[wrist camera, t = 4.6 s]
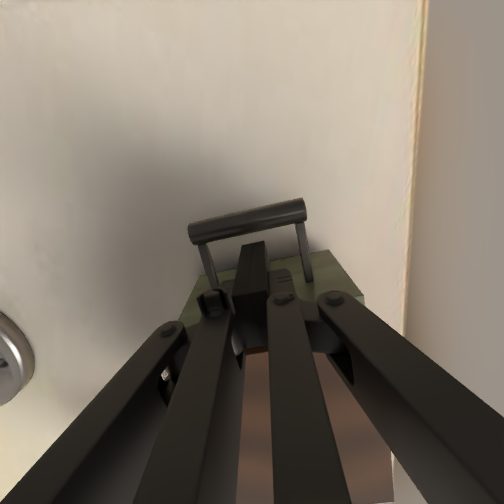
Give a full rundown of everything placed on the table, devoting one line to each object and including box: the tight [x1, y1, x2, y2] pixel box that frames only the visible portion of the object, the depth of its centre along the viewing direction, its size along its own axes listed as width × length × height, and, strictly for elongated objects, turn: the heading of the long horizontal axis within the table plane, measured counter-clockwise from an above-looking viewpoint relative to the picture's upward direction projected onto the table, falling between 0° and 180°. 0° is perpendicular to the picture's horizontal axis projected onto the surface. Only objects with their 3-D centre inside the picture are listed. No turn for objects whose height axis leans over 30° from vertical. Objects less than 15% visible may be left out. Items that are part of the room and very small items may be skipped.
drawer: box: [178, 198, 365, 347], centre depth 22 cm, size 23×13×8 cm, turn 13°
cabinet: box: [236, 345, 394, 504], centre depth 24 cm, size 18×14×10 cm
